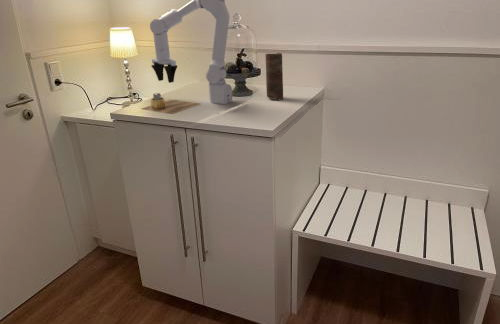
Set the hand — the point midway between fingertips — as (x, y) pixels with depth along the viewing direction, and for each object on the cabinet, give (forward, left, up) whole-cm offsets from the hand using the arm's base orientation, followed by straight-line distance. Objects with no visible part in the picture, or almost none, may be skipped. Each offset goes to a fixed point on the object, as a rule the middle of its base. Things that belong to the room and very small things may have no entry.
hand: (166, 81), depth 165 cm
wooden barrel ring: (-5, +11, -8) cm, 15 cm away
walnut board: (-9, +8, -9) cm, 15 cm away
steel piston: (-5, +11, -9) cm, 15 cm away
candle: (-40, -26, -10) cm, 49 cm away
